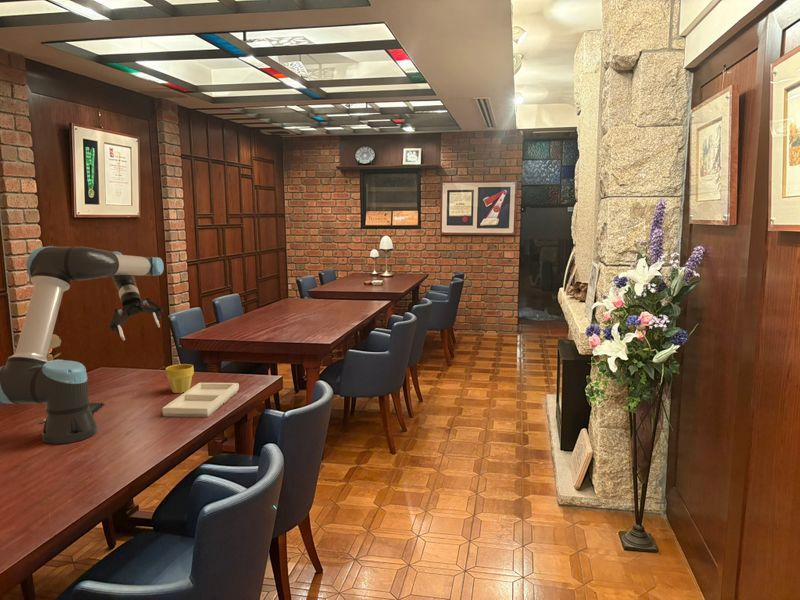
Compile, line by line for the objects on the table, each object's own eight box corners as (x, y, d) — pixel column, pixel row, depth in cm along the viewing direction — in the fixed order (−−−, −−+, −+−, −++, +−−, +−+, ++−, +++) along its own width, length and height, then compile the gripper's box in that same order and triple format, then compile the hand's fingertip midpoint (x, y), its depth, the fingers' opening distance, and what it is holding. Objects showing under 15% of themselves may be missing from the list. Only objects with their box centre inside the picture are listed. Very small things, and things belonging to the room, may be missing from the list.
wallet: (83, 419, 192) (35, 420, 190) (83, 424, 192) (36, 426, 191) (108, 400, 211) (65, 401, 210) (108, 405, 212) (65, 406, 210)
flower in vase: (82, 392, 226) (77, 330, 223) (59, 401, 215) (53, 336, 212) (55, 390, 229) (49, 329, 226) (30, 398, 218) (24, 334, 215)
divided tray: (207, 416, 196) (207, 408, 196) (162, 416, 197) (162, 407, 197) (238, 390, 227) (238, 383, 227) (199, 389, 228) (199, 382, 228)
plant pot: (175, 386, 233) (174, 363, 231) (199, 387, 231) (198, 364, 230) (161, 394, 223) (160, 369, 221) (186, 395, 221) (185, 370, 220)
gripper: (163, 293, 242) (175, 326, 229) (102, 315, 234) (111, 350, 221) (157, 281, 237) (169, 313, 224) (95, 302, 229) (103, 337, 216)
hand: (140, 331), depth 222 cm, fingers open, 13 cm apart
